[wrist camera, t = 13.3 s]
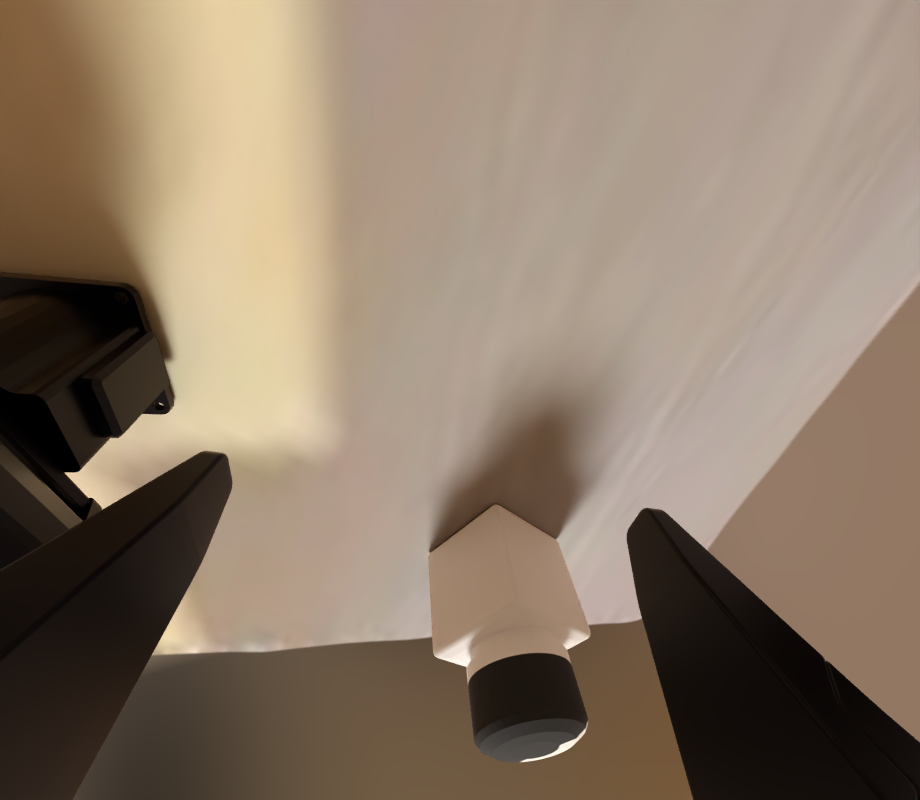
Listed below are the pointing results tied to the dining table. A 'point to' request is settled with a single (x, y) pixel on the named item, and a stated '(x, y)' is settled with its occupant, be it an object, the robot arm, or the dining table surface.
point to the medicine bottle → (510, 634)
